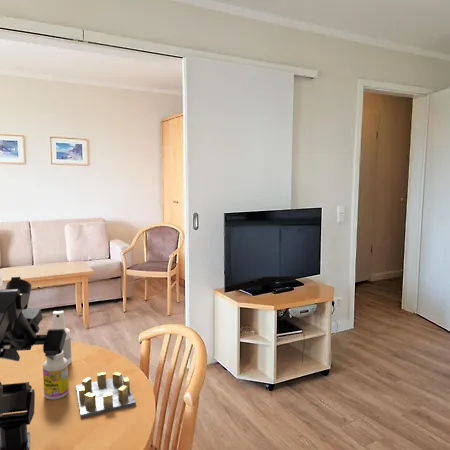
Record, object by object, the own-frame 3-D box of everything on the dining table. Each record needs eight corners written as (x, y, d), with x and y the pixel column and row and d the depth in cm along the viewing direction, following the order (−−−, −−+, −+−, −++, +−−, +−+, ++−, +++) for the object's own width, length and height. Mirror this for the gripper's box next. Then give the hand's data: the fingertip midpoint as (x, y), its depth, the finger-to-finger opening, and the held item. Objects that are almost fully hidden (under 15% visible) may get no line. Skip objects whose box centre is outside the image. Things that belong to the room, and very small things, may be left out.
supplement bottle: (39, 398, 116) (36, 355, 114) (55, 386, 122) (52, 345, 121) (58, 402, 114) (56, 358, 112) (73, 390, 120) (72, 348, 119)
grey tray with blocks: (135, 405, 113) (135, 391, 112) (81, 418, 107) (80, 403, 106) (124, 378, 127) (124, 366, 127) (75, 388, 121) (75, 375, 121)
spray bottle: (48, 369, 133) (45, 316, 131) (51, 359, 139) (48, 309, 137) (70, 366, 135) (68, 314, 132) (72, 357, 141) (70, 307, 139)
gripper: (63, 297, 104) (78, 331, 115) (-12, 300, 103) (11, 333, 114) (51, 336, 96) (69, 368, 107) (-30, 339, 95) (-4, 371, 106)
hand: (36, 358), depth 109 cm, fingers open, 9 cm apart
